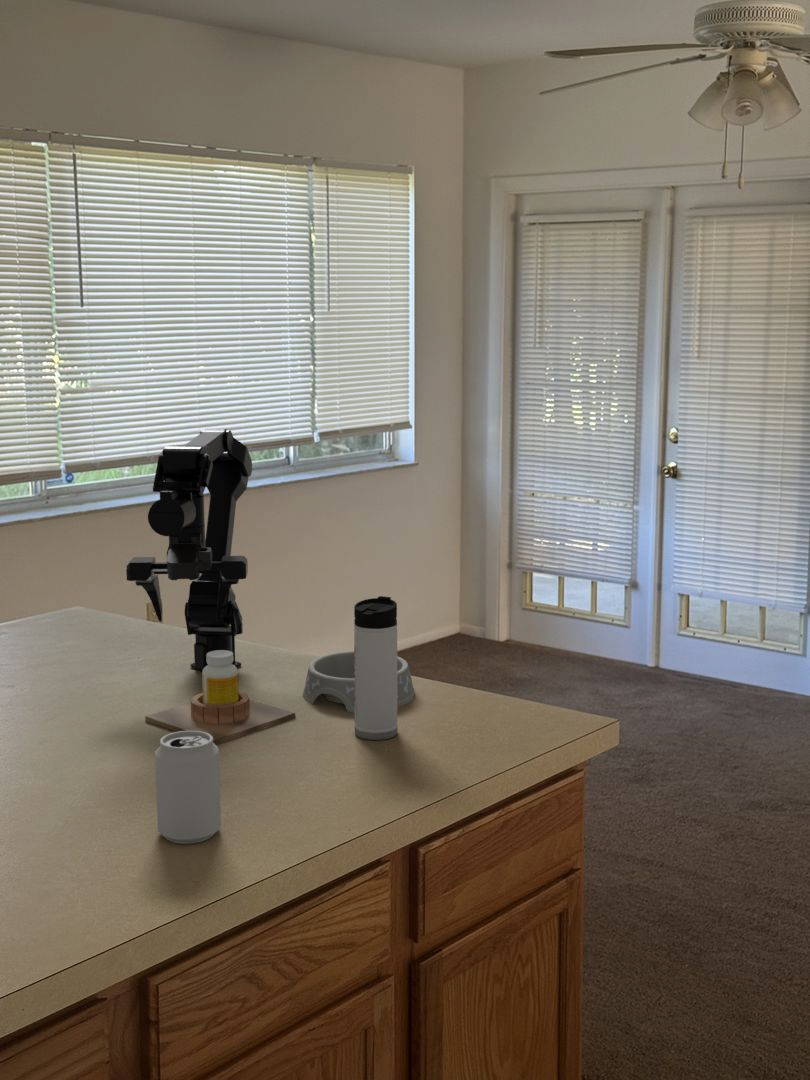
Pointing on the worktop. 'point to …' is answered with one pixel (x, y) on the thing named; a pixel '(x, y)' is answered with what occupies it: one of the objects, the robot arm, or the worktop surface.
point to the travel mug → (375, 668)
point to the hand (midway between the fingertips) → (189, 620)
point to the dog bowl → (348, 680)
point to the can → (188, 787)
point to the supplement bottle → (220, 679)
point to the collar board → (221, 730)
